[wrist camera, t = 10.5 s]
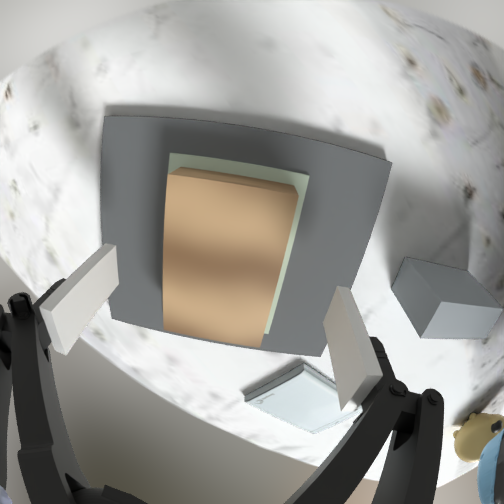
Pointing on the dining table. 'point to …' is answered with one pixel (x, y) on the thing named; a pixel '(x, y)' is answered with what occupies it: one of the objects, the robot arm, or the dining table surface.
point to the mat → (251, 165)
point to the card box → (223, 253)
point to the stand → (444, 301)
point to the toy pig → (476, 435)
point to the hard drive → (301, 400)
